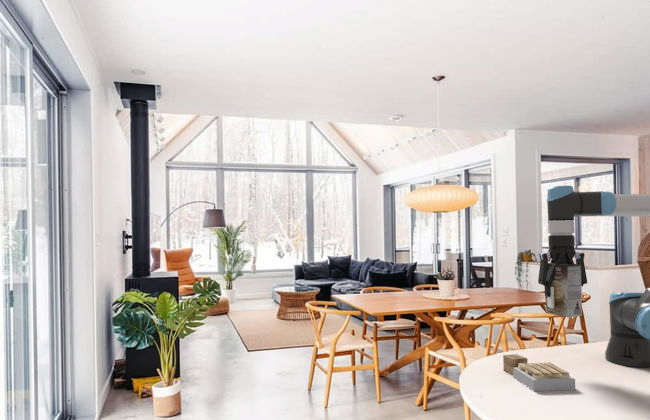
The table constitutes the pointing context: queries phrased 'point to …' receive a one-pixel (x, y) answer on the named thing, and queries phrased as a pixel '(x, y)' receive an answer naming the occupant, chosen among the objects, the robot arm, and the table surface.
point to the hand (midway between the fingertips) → (563, 306)
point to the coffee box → (566, 290)
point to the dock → (544, 382)
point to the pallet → (543, 370)
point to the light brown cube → (512, 362)
